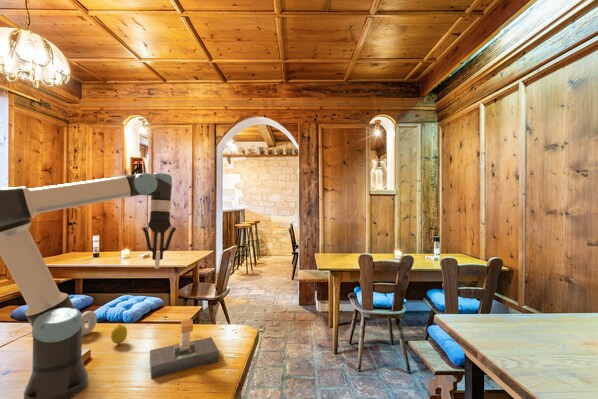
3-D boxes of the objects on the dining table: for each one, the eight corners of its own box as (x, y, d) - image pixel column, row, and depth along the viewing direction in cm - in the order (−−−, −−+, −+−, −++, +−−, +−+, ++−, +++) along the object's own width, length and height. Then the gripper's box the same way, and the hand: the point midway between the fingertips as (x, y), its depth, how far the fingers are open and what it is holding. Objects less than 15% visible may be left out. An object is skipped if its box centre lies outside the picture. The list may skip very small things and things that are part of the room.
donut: (80, 340, 122) (80, 316, 122) (72, 339, 122) (73, 315, 122) (98, 329, 132) (99, 307, 132) (91, 329, 132) (91, 307, 132)
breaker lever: (179, 352, 105) (182, 327, 99) (178, 346, 107) (181, 320, 101) (189, 350, 107) (193, 325, 101) (188, 344, 109) (192, 318, 103)
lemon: (130, 341, 121) (130, 322, 121) (120, 348, 116) (120, 327, 116) (117, 340, 122) (117, 321, 122) (107, 347, 116) (107, 327, 116)
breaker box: (151, 378, 96) (151, 360, 96) (149, 361, 106) (150, 344, 106) (218, 361, 107) (218, 345, 107) (211, 347, 117) (211, 332, 117)
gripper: (175, 211, 128) (172, 265, 127) (142, 210, 121) (138, 267, 120) (178, 211, 122) (175, 268, 120) (143, 210, 115) (139, 270, 114)
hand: (156, 267), depth 120 cm, fingers closed
